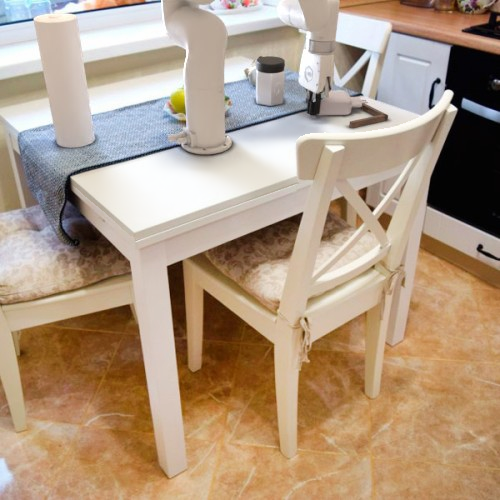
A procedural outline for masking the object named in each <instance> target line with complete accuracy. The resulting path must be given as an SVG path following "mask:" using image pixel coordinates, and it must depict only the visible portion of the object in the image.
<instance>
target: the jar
mask: <svg viewBox="0 0 500 500" xmlns="http://www.w3.org/2000/svg"><path fill="white" fill-rule="evenodd" d="M259 57H260V56H259ZM256 59H257V60H256V87H255V101H256V105H261V106H262V105H263V106H268V107H274V106H277V105H283V104H284V98H285V97H284V95H285V75H286V72H285V67H286V61H285V59H284V58H282V57H279V56H274V55H273V56H270V55H269V56H267V55H266V56H262V57H260V58H258V57H257V58H256Z"/></svg>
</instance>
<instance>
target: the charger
mask: <svg viewBox="0 0 500 500" xmlns="http://www.w3.org/2000/svg"><path fill="white" fill-rule="evenodd" d="M350 96H351V95H350V94H349V93H348V92H347V91H346V90H344V89H336V90H335V89H334V90H331V91H330V92H329V97H328V98H323V100H322V101H321V105H320V113H319V115H316V117H318V116H320V117H321V116H348V115H350V114H351V113H352V109H353V108H358V107H362V103H365V104H369V101H367V99H361V98H360V96H351V97H350Z"/></svg>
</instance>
